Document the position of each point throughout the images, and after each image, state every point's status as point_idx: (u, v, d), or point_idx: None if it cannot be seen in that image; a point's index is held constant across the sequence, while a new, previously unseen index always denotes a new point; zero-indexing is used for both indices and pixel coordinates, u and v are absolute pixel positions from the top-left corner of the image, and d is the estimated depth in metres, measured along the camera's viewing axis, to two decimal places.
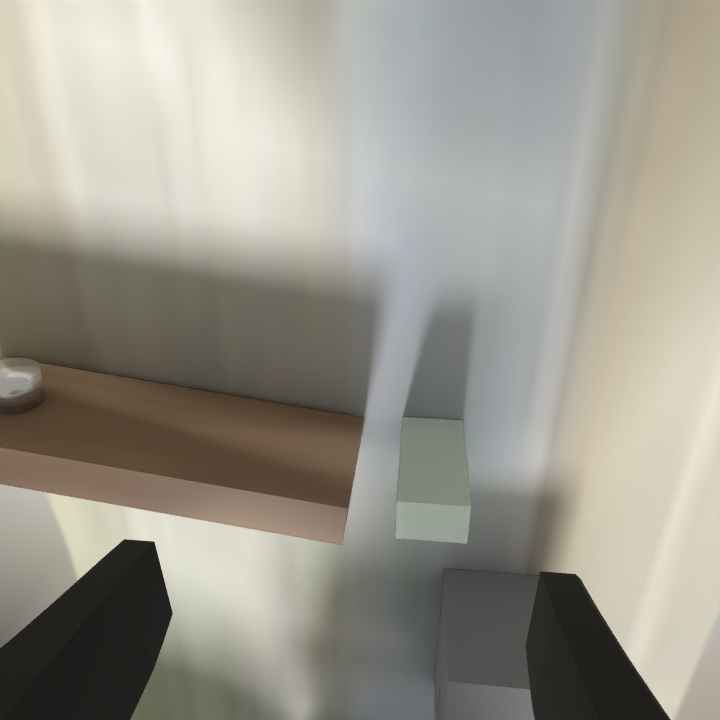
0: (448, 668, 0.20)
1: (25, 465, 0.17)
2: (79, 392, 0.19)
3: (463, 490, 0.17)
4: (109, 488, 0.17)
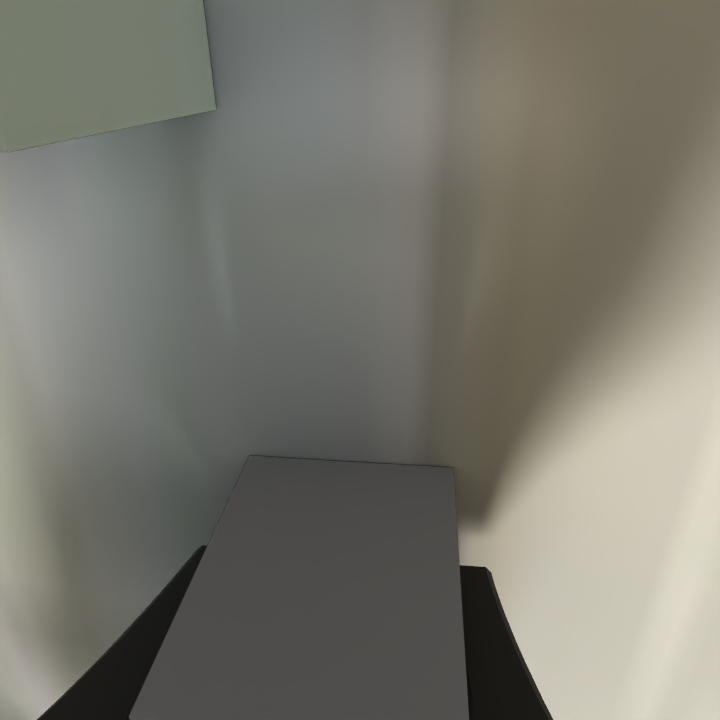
0: (149, 677, 0.07)
1: None
2: None
3: None
4: None
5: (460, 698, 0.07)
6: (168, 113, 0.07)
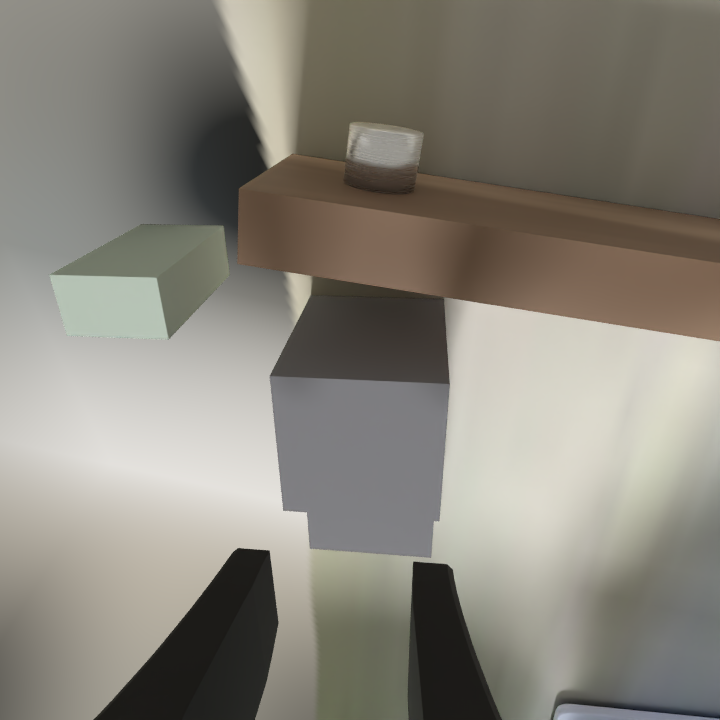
0: (276, 366, 0.13)
1: (453, 250, 0.11)
2: (446, 187, 0.13)
3: None
4: (582, 288, 0.11)
5: (444, 370, 0.13)
6: None
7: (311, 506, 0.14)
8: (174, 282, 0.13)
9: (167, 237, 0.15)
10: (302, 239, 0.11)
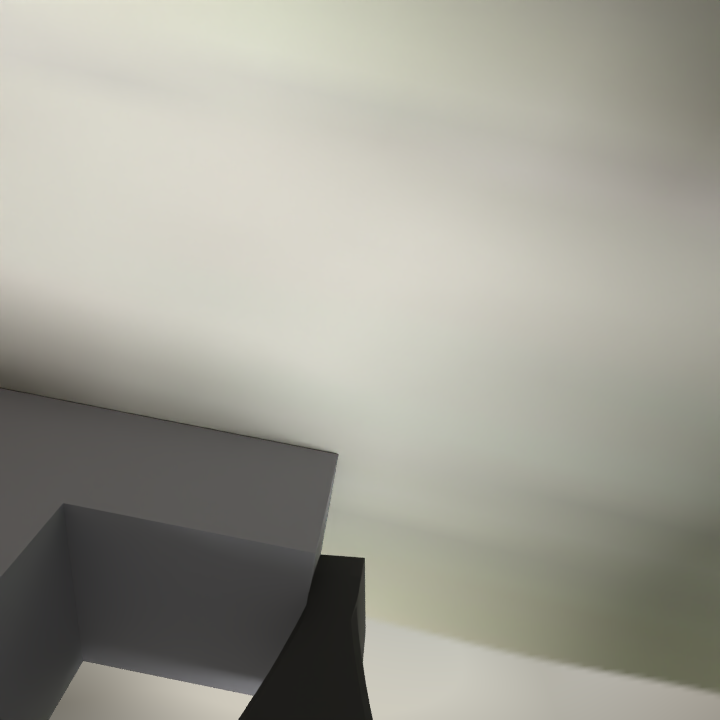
0: None
1: None
2: None
3: None
4: None
5: None
6: None
7: None
8: None
9: None
10: None
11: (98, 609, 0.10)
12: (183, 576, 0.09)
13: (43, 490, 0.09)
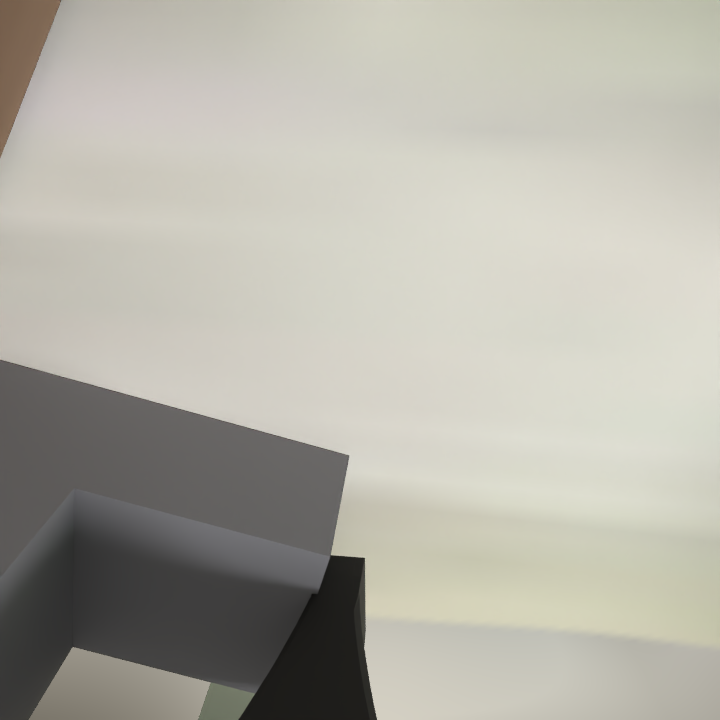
0: None
1: None
2: None
3: None
4: None
5: None
6: None
7: None
8: None
9: None
10: None
11: (96, 595, 0.09)
12: (190, 570, 0.09)
13: (54, 474, 0.08)
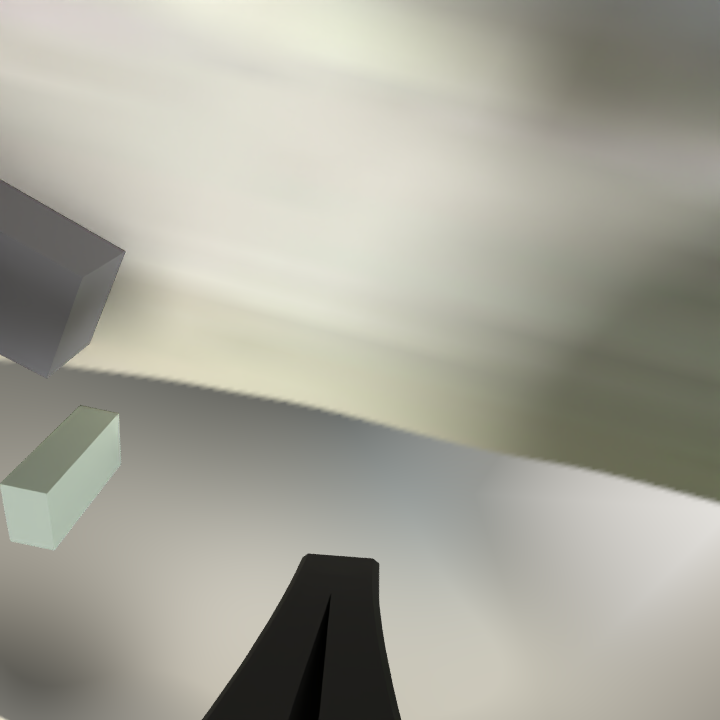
0: None
1: None
2: None
3: None
4: None
5: None
6: None
7: None
8: (29, 469, 0.18)
9: None
10: None
11: None
12: (3, 270, 0.16)
13: None
